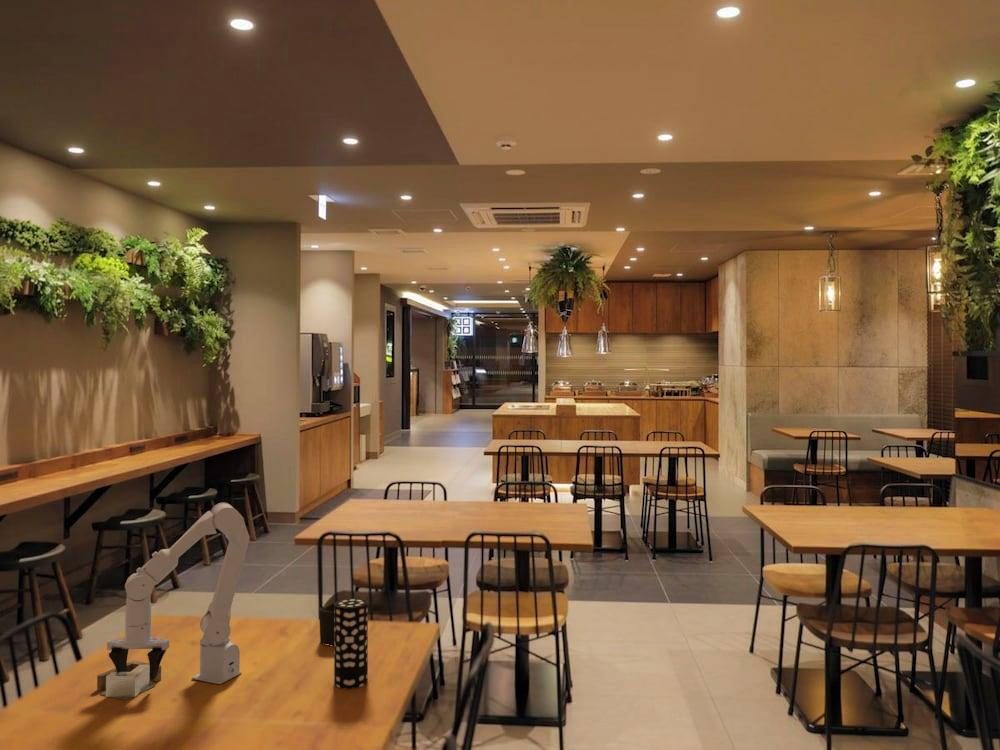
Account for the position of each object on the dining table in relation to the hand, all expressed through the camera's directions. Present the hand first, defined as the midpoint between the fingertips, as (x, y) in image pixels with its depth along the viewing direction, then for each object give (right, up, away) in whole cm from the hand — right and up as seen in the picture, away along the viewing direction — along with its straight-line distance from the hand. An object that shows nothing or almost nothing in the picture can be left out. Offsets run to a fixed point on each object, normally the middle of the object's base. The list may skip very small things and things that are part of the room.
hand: (138, 678), depth 176 cm
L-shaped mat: (-2, -3, 0) cm, 4 cm away
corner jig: (-4, -3, +3) cm, 6 cm away
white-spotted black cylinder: (+52, -3, +5) cm, 52 cm away
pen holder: (+41, -4, +34) cm, 53 cm away
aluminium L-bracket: (-2, -3, -1) cm, 4 cm away
